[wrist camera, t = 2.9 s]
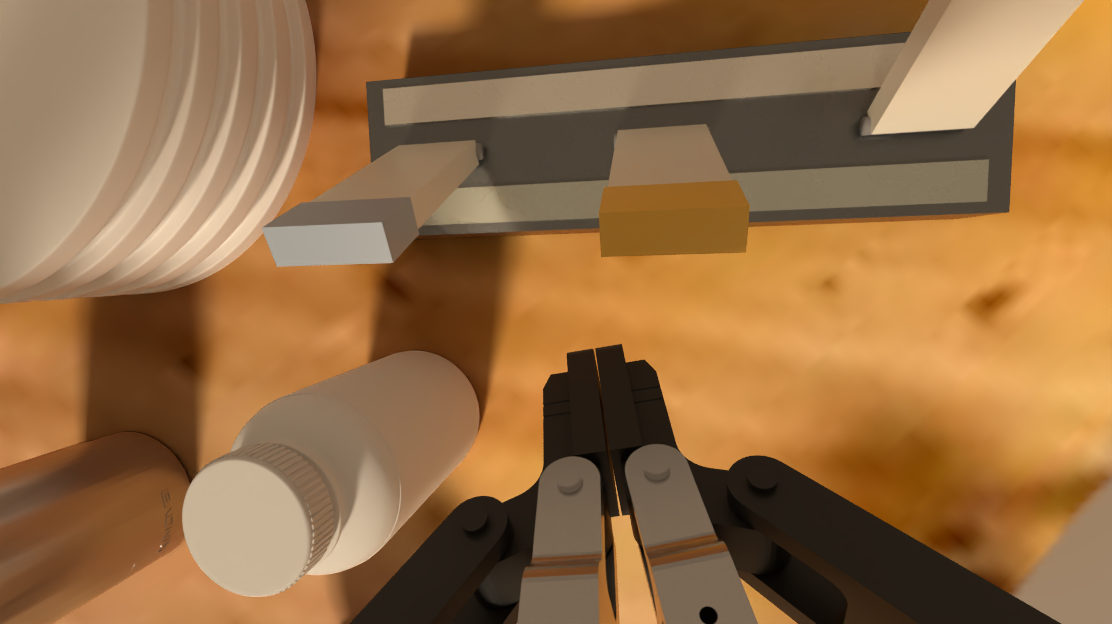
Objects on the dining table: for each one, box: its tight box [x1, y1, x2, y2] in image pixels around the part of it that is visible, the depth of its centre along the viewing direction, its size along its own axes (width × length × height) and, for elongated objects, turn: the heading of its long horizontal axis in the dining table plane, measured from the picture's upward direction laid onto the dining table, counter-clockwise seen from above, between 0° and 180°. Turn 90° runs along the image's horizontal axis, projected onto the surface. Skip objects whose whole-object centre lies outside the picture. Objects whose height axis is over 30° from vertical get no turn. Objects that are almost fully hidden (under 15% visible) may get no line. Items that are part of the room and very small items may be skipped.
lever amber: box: [599, 124, 750, 257], centre depth 21 cm, size 1×4×12 cm, turn 92°
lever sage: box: [859, 0, 1084, 136], centre depth 18 cm, size 1×4×12 cm, turn 92°
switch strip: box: [366, 32, 1016, 239], centre depth 28 cm, size 8×30×4 cm, turn 92°
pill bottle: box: [182, 351, 480, 597], centre depth 26 cm, size 8×8×15 cm
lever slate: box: [262, 140, 484, 266], centre depth 22 cm, size 1×4×12 cm, turn 92°
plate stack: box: [0, 0, 316, 304], centre depth 29 cm, size 28×28×12 cm
